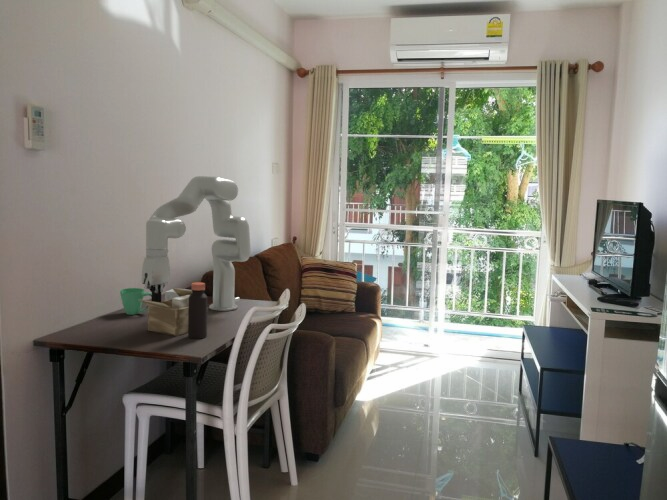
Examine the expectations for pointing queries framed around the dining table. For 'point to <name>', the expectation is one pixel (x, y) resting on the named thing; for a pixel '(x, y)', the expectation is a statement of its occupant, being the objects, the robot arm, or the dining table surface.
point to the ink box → (171, 294)
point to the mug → (133, 300)
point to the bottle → (197, 311)
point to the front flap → (156, 304)
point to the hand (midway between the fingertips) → (156, 302)
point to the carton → (170, 317)
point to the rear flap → (182, 292)
